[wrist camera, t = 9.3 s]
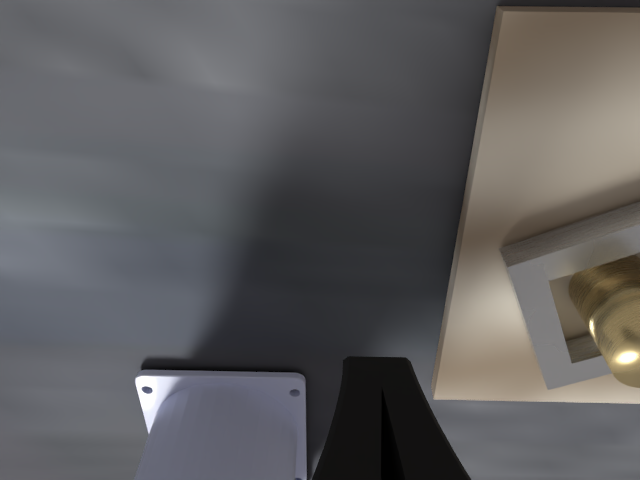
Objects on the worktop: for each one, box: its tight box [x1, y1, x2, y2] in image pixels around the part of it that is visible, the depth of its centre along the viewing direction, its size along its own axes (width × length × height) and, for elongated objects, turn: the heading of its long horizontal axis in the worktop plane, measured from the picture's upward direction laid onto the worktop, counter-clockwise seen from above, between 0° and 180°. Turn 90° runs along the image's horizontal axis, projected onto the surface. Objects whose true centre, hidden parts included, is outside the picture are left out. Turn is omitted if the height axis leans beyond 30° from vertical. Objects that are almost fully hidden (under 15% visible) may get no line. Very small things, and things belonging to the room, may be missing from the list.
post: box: [568, 255, 640, 388], centre depth 20 cm, size 3×3×4 cm
